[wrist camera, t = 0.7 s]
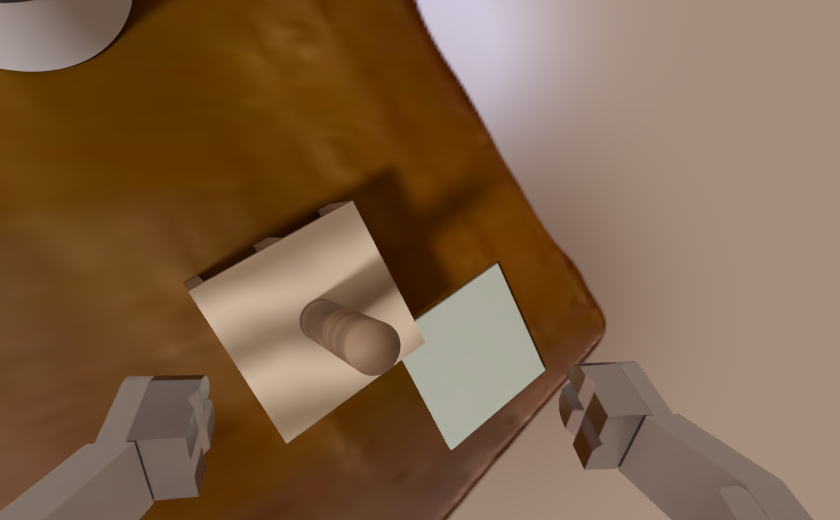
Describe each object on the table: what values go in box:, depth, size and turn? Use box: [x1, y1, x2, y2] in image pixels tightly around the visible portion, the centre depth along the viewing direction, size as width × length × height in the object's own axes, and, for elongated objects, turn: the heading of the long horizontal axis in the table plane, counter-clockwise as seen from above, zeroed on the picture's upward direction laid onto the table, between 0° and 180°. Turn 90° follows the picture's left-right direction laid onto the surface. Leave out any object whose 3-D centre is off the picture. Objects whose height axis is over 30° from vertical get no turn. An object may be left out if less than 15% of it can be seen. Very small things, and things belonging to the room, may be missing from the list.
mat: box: [402, 263, 545, 450], centre depth 53 cm, size 14×14×1 cm
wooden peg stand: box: [183, 201, 425, 443], centre depth 37 cm, size 14×14×17 cm
